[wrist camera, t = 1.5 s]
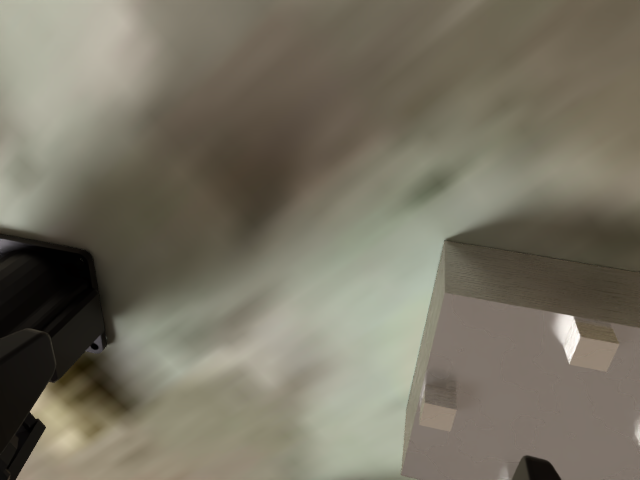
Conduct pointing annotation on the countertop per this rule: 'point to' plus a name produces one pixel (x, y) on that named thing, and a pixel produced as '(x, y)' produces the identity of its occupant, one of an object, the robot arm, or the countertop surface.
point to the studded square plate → (526, 369)
